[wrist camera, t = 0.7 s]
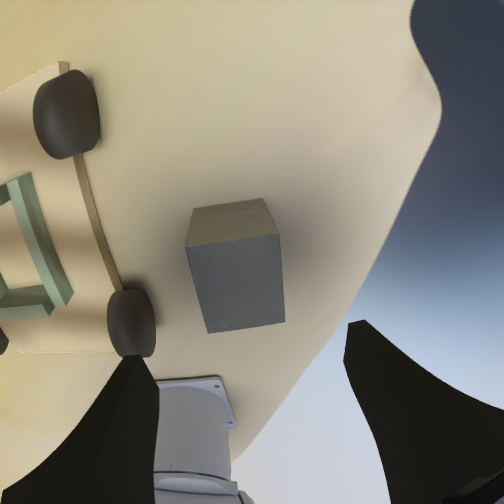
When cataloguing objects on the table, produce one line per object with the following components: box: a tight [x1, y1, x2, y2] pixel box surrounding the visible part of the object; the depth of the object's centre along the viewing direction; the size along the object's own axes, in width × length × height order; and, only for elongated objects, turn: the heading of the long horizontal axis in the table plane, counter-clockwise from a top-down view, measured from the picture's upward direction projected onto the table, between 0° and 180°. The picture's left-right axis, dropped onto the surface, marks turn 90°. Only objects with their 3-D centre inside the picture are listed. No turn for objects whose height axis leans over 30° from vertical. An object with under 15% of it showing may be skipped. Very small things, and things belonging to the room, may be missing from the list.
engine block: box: [185, 198, 285, 334], centre depth 16 cm, size 5×4×5 cm
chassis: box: [0, 61, 156, 358], centre depth 14 cm, size 20×17×4 cm
